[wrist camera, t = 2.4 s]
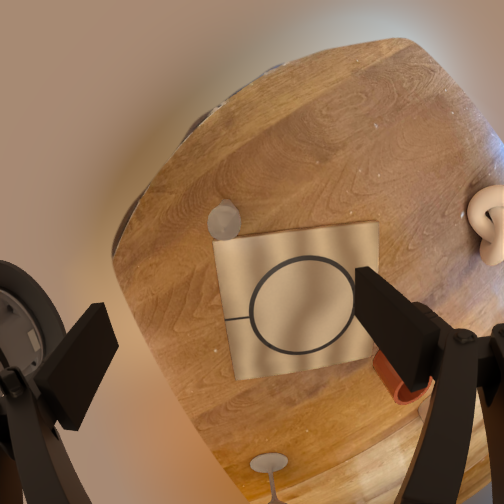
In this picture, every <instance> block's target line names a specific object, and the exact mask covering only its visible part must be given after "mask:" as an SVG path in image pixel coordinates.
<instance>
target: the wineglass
mask: <svg viewBox="0 0 504 504" xmlns="http://www.w3.org/2000/svg"><path fill="white" fill-rule="evenodd" d="M287 463H288V459H287V457H286V456H285V455H283V454H280V453H265V454H261V455H259V456H256V457H255V458H253V459H252V460H251V462H250V466H251V468H252V469H253V470H255V471H257V472H263V473H269V479H270V486H271V492H272V500H271V502H270V503H268V504H286V503H284V502H282V501H279V500H278V499H277V496H276V492H275V485H274V479H273V472H274V471H278V470H280V469H282V468H284V467H285V466H286V465H287Z"/></svg>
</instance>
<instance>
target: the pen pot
mask: <svg viewBox="0 0 504 504" xmlns="http://www.w3.org/2000/svg"><path fill="white" fill-rule="evenodd" d="M373 367H374V369H375V371H376V373H377V375H378V376H379V378H380V379H381V381H382V382H383V384H384V386H385V387H386V389H387V390H388V392H389V393H390V395H391V397H392V398H393V400H394V401H395V402H396V403H397V404H399V405H406V404H409V403H412V402H414V401H416V400H417V399H419V398H420V397H421V396H422V395H423V394H424V393H425V392H426V391H427V390H428V388H429V387H430V385H431V382H432V379H433V378H432V377H431V376H430V379H429V383H428V386H427V387H426V388H424V389H421V390H418V391H416V392H413V393H411V392H410V391H409V389H408V388H407V386H406V385H405V384H404V382H403V381H402V379H401V378H400V377H399V375H398V374H397V372H396V371H395V370H394V368H393V367H392V365H391V364H390V363H389V361H388V360H387V358H386V357H385V356H384V354H383V353H382V352H381V350H379V351H378V352H377V354H376V355H375V357H374V360H373Z"/></svg>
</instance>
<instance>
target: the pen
mask: <svg viewBox="0 0 504 504" xmlns="http://www.w3.org/2000/svg"><path fill="white" fill-rule="evenodd" d="M207 224H208V230H209V232H210V234H211V236H212V237H214V238H215V239H217V240H222V241H226V240H231V239H233V238H235V237H236V236H237V234H238V233H239V231H240V227H241V217H240V215H239V211H238V209H237V208H236V207H235V206H234V204H233V203H232V202H231V200H230V199H223V200H222V202H221V203H220V204H219V206H217V207H215V208H214V209H213V210H212V211H211V213H210V214H209V217H208V222H207Z"/></svg>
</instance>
